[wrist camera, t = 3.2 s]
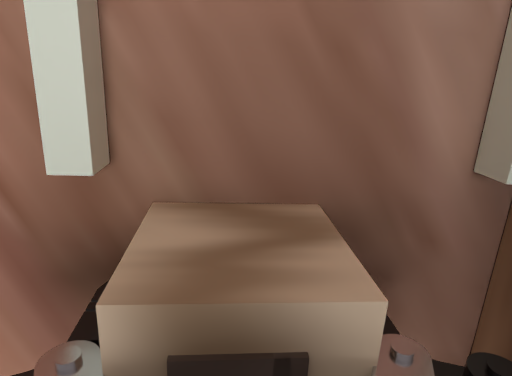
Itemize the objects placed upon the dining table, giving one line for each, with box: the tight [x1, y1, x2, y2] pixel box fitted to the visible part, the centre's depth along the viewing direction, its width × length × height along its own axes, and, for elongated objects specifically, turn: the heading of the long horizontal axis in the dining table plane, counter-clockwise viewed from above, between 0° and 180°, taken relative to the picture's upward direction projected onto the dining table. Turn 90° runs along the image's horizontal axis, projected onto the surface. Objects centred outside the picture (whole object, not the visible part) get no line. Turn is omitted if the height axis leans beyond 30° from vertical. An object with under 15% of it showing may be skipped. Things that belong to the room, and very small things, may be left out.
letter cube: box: [96, 202, 388, 376], centre depth 10 cm, size 6×6×6 cm
